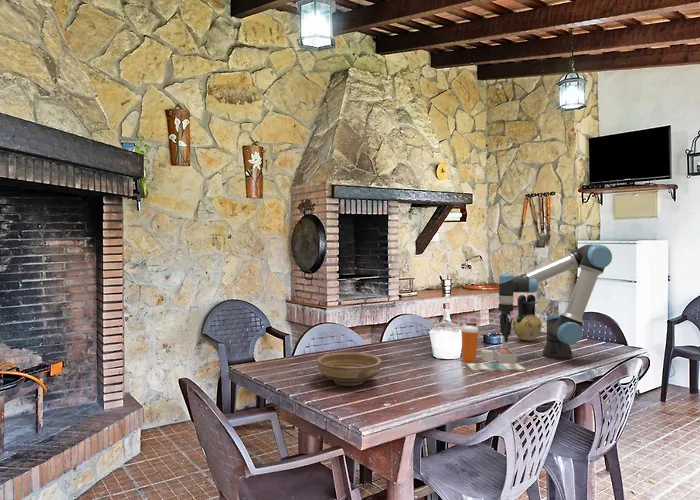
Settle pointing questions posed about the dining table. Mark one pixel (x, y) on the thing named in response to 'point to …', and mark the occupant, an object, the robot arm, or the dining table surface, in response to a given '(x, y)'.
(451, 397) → the dining table surface
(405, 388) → the dining table surface
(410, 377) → the dining table surface
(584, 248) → the robot arm
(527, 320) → the amphora
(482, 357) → the die
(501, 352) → the dome button
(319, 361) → the ceramic bowl
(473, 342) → the shaker bottle
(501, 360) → the dome collar
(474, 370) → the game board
